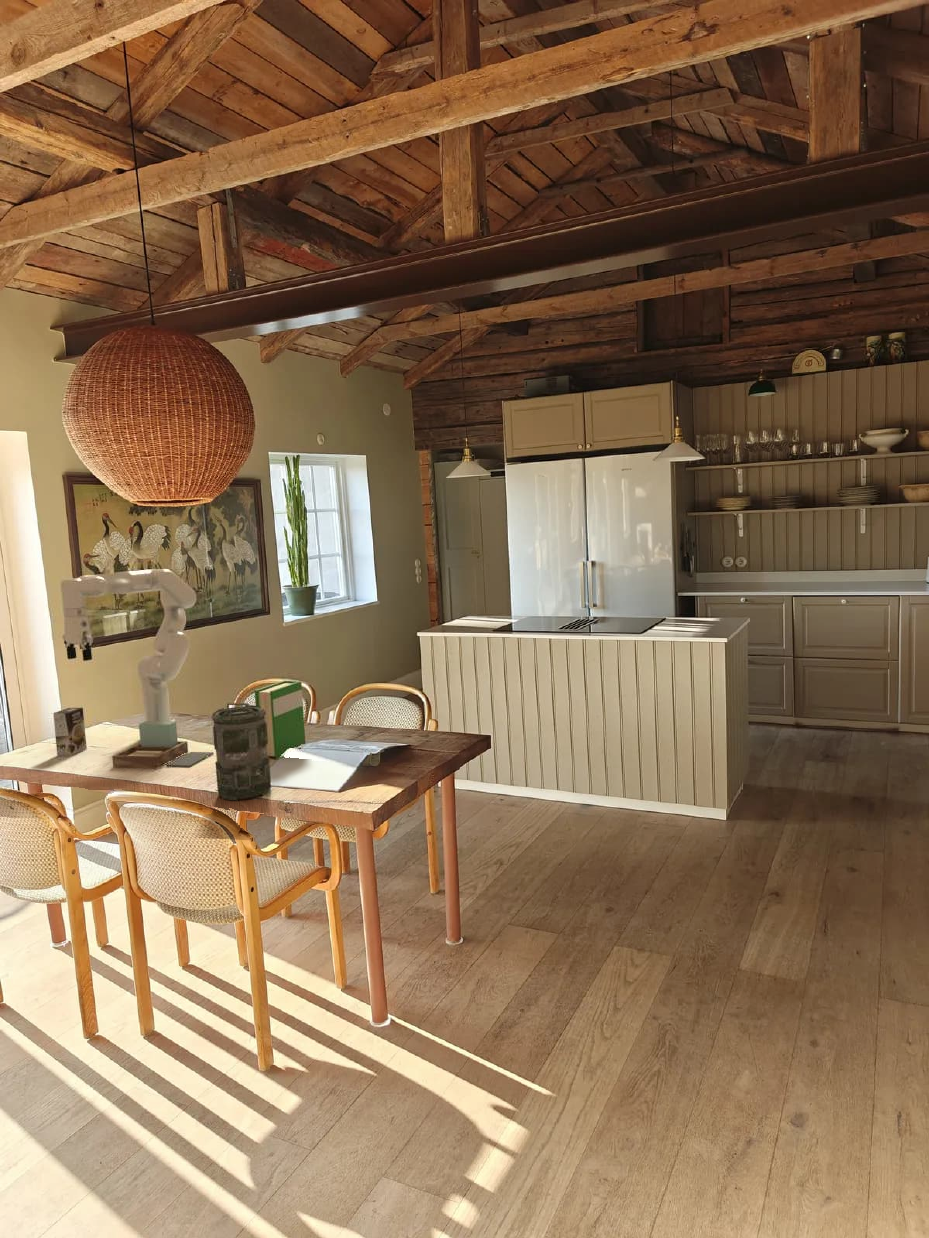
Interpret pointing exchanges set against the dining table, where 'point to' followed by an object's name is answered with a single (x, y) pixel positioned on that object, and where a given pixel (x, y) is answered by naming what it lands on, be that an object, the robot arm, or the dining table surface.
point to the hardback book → (282, 715)
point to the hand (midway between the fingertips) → (79, 659)
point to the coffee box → (70, 731)
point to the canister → (241, 751)
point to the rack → (148, 761)
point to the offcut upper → (146, 753)
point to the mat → (189, 759)
